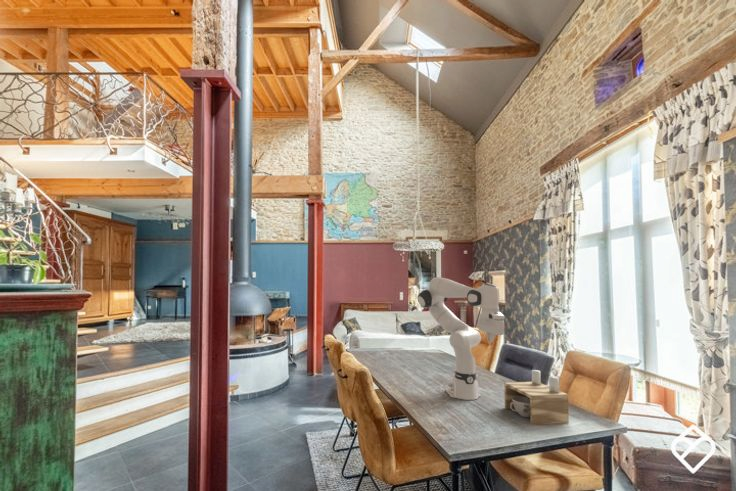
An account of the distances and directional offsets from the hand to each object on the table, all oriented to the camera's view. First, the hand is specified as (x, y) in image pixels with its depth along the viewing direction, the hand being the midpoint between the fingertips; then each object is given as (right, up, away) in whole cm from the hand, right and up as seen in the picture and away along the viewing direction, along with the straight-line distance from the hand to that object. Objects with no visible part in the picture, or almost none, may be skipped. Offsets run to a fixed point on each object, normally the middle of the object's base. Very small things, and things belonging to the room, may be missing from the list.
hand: (490, 341), depth 197 cm
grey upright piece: (+31, -24, -5) cm, 39 cm away
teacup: (+16, -38, -2) cm, 41 cm away
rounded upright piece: (+28, -25, +9) cm, 39 cm away
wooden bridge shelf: (+23, -38, 0) cm, 44 cm away
